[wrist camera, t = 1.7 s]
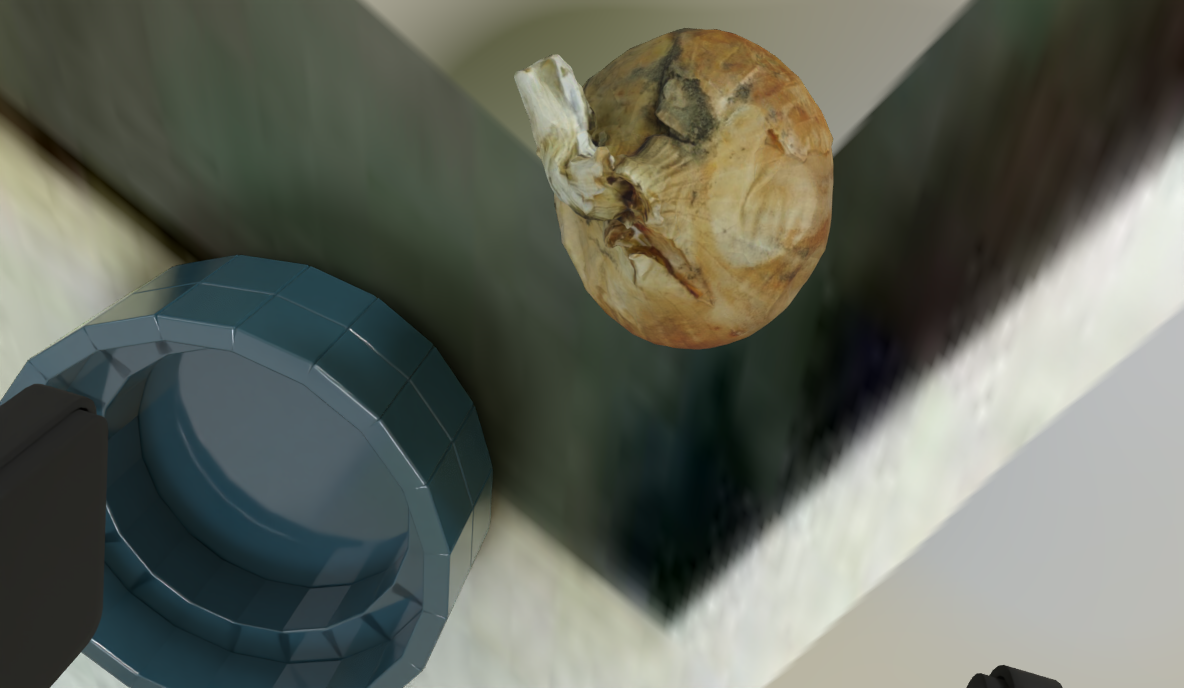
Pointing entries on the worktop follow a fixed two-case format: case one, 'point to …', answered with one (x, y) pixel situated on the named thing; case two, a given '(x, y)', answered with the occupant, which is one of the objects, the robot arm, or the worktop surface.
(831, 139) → the onion
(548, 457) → the worktop surface
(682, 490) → the worktop surface
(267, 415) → the bowl
